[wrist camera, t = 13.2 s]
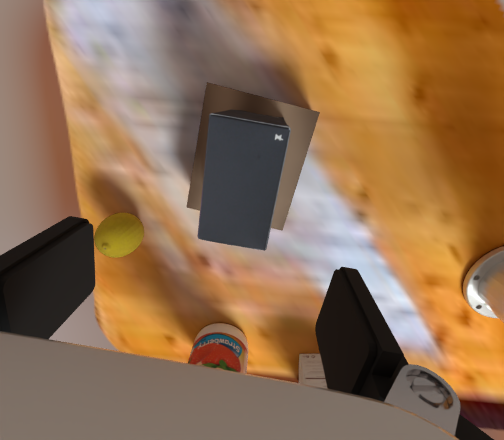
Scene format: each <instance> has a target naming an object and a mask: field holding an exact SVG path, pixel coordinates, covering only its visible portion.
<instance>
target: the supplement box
mask: <svg viewBox="0 0 504 440" xmlns="http://www.w3.org/2000/svg"><path fill="white" fill-rule="evenodd" d="M299 384H305V385H310V386H316V387H321V388H327V384H326V379H325V374H324V370H323V365H322V360H321V356H320V354H299Z"/></svg>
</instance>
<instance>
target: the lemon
mask: <svg viewBox="0 0 504 440" xmlns="http://www.w3.org/2000/svg"><path fill="white" fill-rule="evenodd" d="M143 237H144V227H143V225H142V222H141V221H140V220H139V219H138V218H137V217H136V216H134V215H132V214H129V213H116V214H113V215H111V216H109V217H107V218H106V219H105V220H103V221H102V222H101V223H100V225H99V226H98V228H97V230H96V232H95V236H94V240H95V244H96V247H97V248H98V250H99V251H100V252H101V253H103V254H104V255H106V256H109V257H113V258H116V257H123V256H126V255H128V254H130V253H131V252H133V251H134V250H135V249H136V248H137V247H138V246H139V245H140V244H141V242H142V239H143Z"/></svg>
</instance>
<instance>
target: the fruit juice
mask: <svg viewBox="0 0 504 440" xmlns="http://www.w3.org/2000/svg"><path fill="white" fill-rule="evenodd" d="M247 360H248V342H247V339H246V337H245V335H244V334H243V333H242V332H241V331H240V330H239V329H238V328H236V327H234V326H232V325H229V324H225V323H215V324H210V325H208V326H206V327H204V328H203V329H202V330H201V331H200V332H199V333H198V334H197V336H196V338H195V341H194V344H193V347H192V351H191V354H190V357H189V361H188V363H189V364H194V365H200V366H206V367H211V368H217V369H222V370H228V371H233V372H239V373H244V374H247Z"/></svg>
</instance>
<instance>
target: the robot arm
mask: <svg viewBox="0 0 504 440" xmlns="http://www.w3.org/2000/svg"><path fill="white" fill-rule="evenodd" d="M94 287H95V262H94V236H93V226H92V224H89V221H88V220H87V219H83V218H78V217H72V216H70V217H67V218H66V219H64V220H62V221H60V222H58V223H57V224H55V225H53V226H51V227H50V228H48V229H46V230H44V231H43V232H41V233H39V234H37V235H36V236H34V237H32V238H30V239H29V240H27V241H25V242H23V243H22V244H20V245H18V246H16V247H15V248H13V249H11V250H9V251H7V252H6V253H4V254H2V255H0V440H494V439H492V438H491V437H489V436H488V435H487V434H485V433H484V432H483V431H481V430H480V429H479V428H477V427H476V426H475V425H473V424H472V423H471V422H469V421H468V420H467V419H465V418H464V417H463V416H461V415H460V414H459V413H460V402H459V399H458V397H457V395H456V393H455V392H454V390H453V389H452V388H451V386H450V385H449V384H448V383H447V382H446V381H445V380H444V379H442V378H441V377H440V376H438V375H437V374H436V373H434V372H432V371H430V370H429V369H427V368H424V367H421V366H419V365H411V364H410V365H409V364H408V362H407V360H406V359H405V357H404V354H403V352H402V350H401V349H400V347H399V345H398V343H397V341H396V339H395V338H394V336H393V334H392V332H391V330H390V328H389V327H388V325H387V323H386V321H385V319H384V317H383V316H382V314H381V312H380V310H379V308H378V306H377V305H376V303H375V301H374V299H373V297H372V295H371V294H370V292H369V290H368V288H367V286H366V284H365V283H364V281H363V279H362V277H361V275H360V273H359V272H358V270H357V269H352V268H346V267H341V268H340V269H339V270H337V269H336V270H335V271H334V274H333V276H332V279H331V282H330V285H329V288H328V291H327V294H326V297H325V299H324V302H323V305H322V308H321V311H320V314H319V317H318V319H317V322H316V328H315V331H316V337H317V341H318V346H319V351H320V356H321V360H322V365H323V370H324V374H325V379H326V384H327V388H321V387H316V386H310V385H305V384H299V383H294V382H289V381H283V380H277V379H272V378H266V377H261V376H255V375H250V374H244V373H239V372H233V371H228V370H222V369H217V368H211V367H206V366H200V365H194V364H189V363H183V362H177V361H172V360H166V359H160V358H154V357H149V356H143V355H137V354H132V353H126V352H120V351H114V350H108V349H103V348H97V347H91V346H85V345H79V344H73V343H67V342H61V341H55V340H49V338H50V337H51V336H52V335H53V333H54V332H55V331H56V330H57V329H58V328H59V327H60V326H61V325H62V324H63V323H64V322H65V321H66V320H67V318H68V317H69V316H70V315H71V314H72V313H73V312H74V311H75V310H76V309H77V308H78V307H79V306H80V304H81V303H82V302H83V301H84V300H85V299H86V298H87V297H88V296H89V295H90V294H91V292H92V291H93V289H94ZM463 295H464V298H465V300H466V302H467V303H468V304H469V306H470V307H472V308H473V309H474V310H475V311H476V312H478V313H479V314H481V315H484V316H487V317H491V318H499V319H500V320H501V321H502V322H503V323H504V246H502V247H499V248H497V249H495V250H493V251H491V252H489V253H487V254H486V255H484V256H483V257H481V258H480V259H479V260H478V261H477V262H476V263H475V264H474V265H473V266H472V267H471V268H470V270H469V272H468V273H467V275H466V277H465V280H464V283H463Z"/></svg>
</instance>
